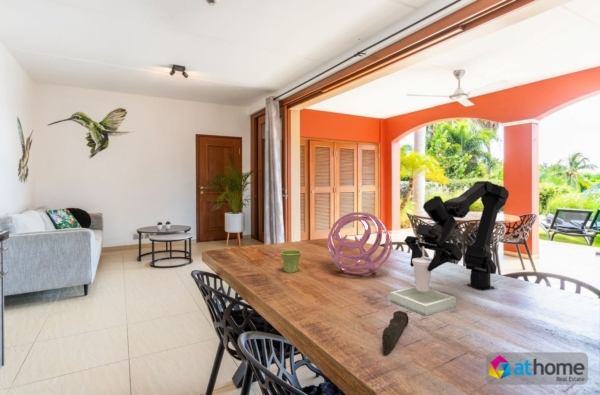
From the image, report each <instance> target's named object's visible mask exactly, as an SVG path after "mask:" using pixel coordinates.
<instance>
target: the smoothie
mask: <svg viewBox="0 0 600 395" xmlns="http://www.w3.org/2000/svg"><path fill="white" fill-rule="evenodd" d="M422 252H423V256H422V258H414V259H412V263H413V273H414V281H415V286H416V289H417V290H418V291H423V292H426V291H429V289H430V283H431V276H432V271H428V267H429V264H430V263H431V261H432V258H426V257H425V248H424V246H423V250H422Z"/></svg>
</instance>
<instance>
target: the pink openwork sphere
mask: <svg viewBox="0 0 600 395" xmlns="http://www.w3.org/2000/svg"><path fill="white" fill-rule="evenodd" d="M356 221H358V222H360V223H361V224H362V225H363V227H364V232H363V235H362V237H360V238H359V239H358V238H357V236H356V235H354V240H355V241H354V242H350V241H347V240H346V239H347V238H348V234H346V235H344V237H342V236H341V230H342V228H344V227H346V225H348V224H350V223H353V222H356ZM368 221H369V222H373V224H374V226H375V228H376V238H375V241H374V243H373V244H372V246H371V247H370V248H369V249H365V248H364V245H365V244H366V243H367V242H368V241H369V239H370V236H371V234H372V233H371V232H372V228H371V225H370V223H369V222H368ZM334 229H335V230H334ZM382 229H383V230H384V234H385V243H384V246H383V248H382V250H381V252H380V253H379V255H378V256H376V257H375V258H374V259H373V260H372V259H371V257H372V255H374V254H375V252H376V251H377V250H378V248H379V247H380V245H381V242H382V239H383V238H382V237H383V230H382ZM334 240H336V241H337V243H338V245H337V247H336V246H335V244H334ZM392 246H393V242H392V236H391V233H390V231H389V229H387V226H386V225H385V224H384V222H383V221H382V220H381V219H380V218H379V217H377V216H376V215H374V214H371V213H368V212H361V211H358V212H357V211H355V212H349V213H347V214H344V215H342V216H341V217H340V218H338V219H337V220H336V221H335V222H334V224H333V225H332V227H331V228H330V230H329V233H328V237H327V250H328V254H329V255H330V257H331V259H332V262H333V263H334V264H335V266H336V267H337V268H338V269H340V270H341V271H343V272H344V273H346V274H349V275H353V276H365V275H369V274H375V273H377V271H378V270H379V269H380V268H382V267H383V266H384V265H385V264H386V263H387V261H388V259H389V258H390V256H391V252H392V249H393V247H392ZM342 248H345V249H349V250H353V249H358V250H359V252H360V253H359V254H353V255H351V254H345V253H343V252H342ZM383 258H384V259H383ZM340 259H342V260H344V261H349V262H353V263H352V264H345V263H343V262H341V261H340ZM382 259H383V261H381V260H382ZM361 261H364V262H365V263H364V264H362V265H359V263H360V262H361ZM380 261H381V262H380ZM378 263H379V264H378ZM377 264H378V265H377ZM376 265H377V266H376ZM363 270H367V271H363ZM354 271H355V272H354ZM357 271H363V272H357Z"/></svg>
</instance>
